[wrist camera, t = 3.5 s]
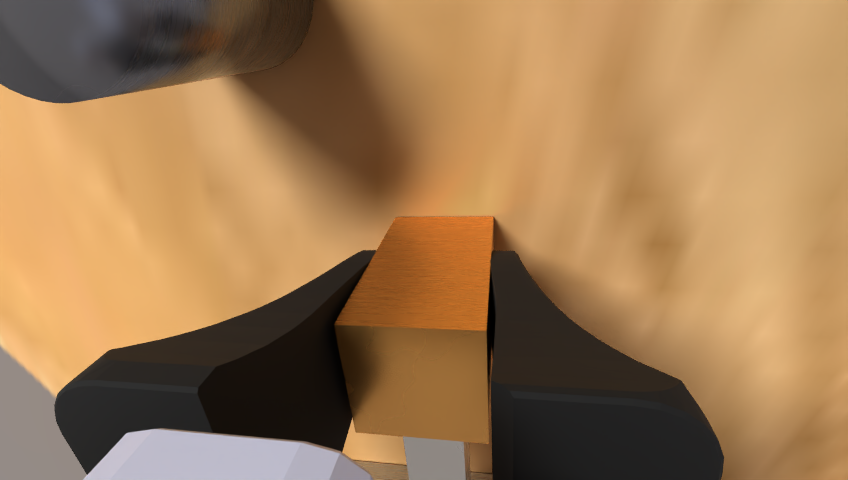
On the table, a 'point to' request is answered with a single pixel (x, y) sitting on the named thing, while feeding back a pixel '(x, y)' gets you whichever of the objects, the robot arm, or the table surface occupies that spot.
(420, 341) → the pin
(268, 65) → the grey metal cylinder
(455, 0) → the table surface
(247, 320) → the robot arm
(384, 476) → the dock
